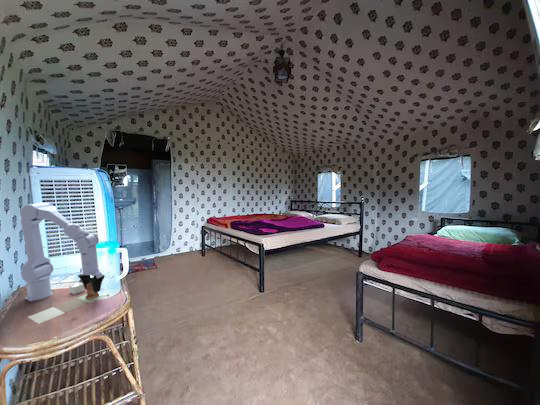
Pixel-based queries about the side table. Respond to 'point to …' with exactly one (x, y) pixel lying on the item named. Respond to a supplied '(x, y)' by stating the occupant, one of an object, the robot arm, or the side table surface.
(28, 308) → the side table surface
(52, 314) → the board
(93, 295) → the pawn
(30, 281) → the robot arm
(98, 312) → the side table surface
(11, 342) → the side table surface
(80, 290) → the die
